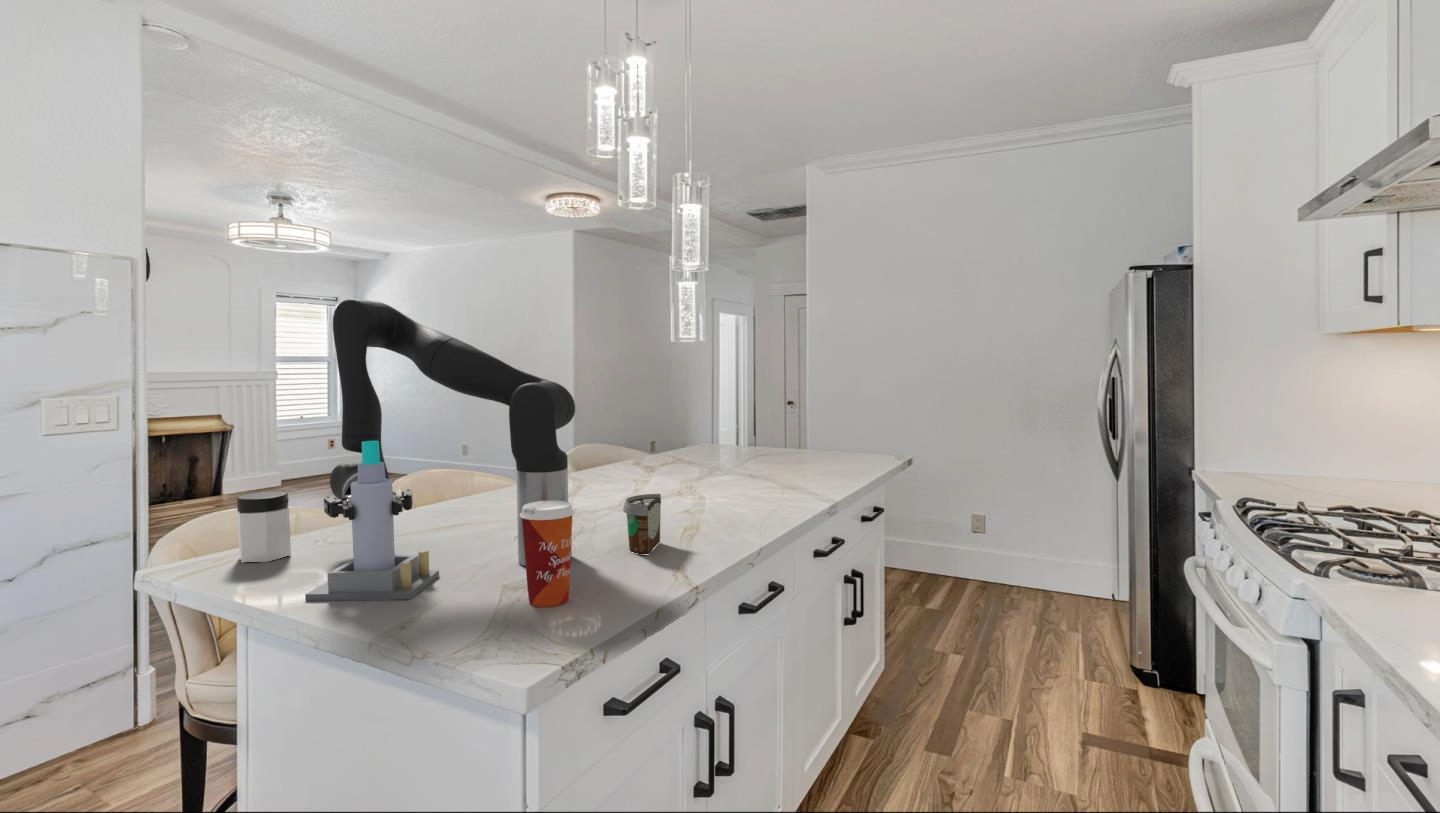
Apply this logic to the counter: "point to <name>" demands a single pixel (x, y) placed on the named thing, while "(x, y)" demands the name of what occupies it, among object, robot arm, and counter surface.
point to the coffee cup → (547, 551)
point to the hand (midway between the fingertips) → (374, 511)
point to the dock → (377, 581)
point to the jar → (263, 526)
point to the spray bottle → (372, 513)
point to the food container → (643, 522)
